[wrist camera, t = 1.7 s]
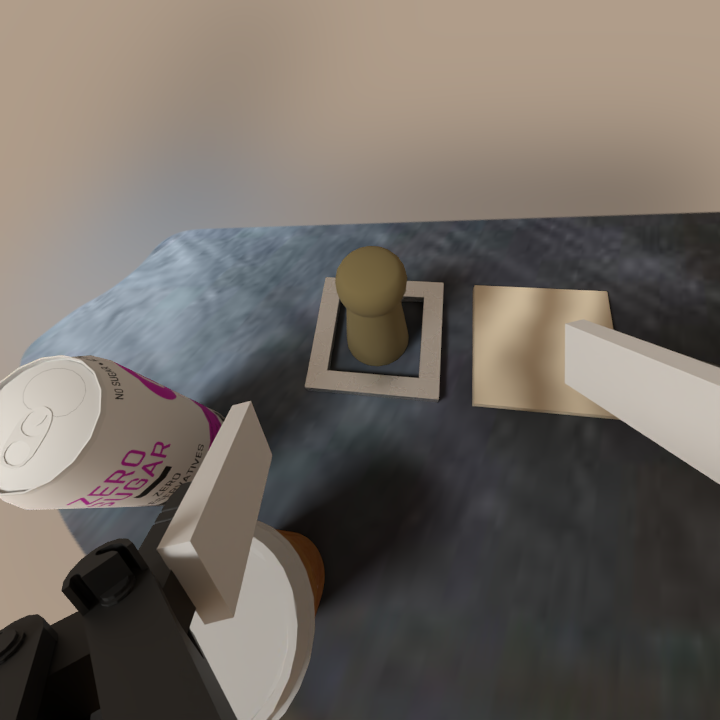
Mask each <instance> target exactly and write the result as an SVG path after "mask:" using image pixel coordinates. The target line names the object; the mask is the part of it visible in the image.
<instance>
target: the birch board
mask: <svg viewBox="0 0 720 720" xmlns="http://www.w3.org/2000/svg"><path fill="white" fill-rule="evenodd" d="M582 319H584V320H587V321H590V322H593V323H595V324H598V325H601V326H604V327H607V328H609V329H612V330H613V324H612V318H611V312H610V306H609V300H608V294H607V291H587V290H565V289H544V288H522V287H500V286H479V285H474V288H473V369H472V406H479V407H490V408H501V409H511V410H522V411H533V412H543V413H554V414H565V415H575V416H586V417H597V418H607V419H618V420H620V419H619V418H617V417H616V416H614V415H613V414H611V413H610V412H608V411H607V410H605V409H604V408H602V407H600V406H599V405H597V404H596V403H594V402H593V401H591V400H590V399H588V398H587V397H585V396H584V395H582V394H581V393H579V392H577V391H576V390H574V389H573V388H571V387H570V386H568V385H567V384H565V324H566V323H570V322H574V321H578V320H582Z"/></svg>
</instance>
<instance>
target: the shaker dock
mask: <svg viewBox="0 0 720 720" xmlns="http://www.w3.org/2000/svg"><path fill="white" fill-rule="evenodd" d="M335 279H336V278H331V277H326V279H325V284H324V289H323V295H322V300H321V305H320V310H319V315H318V321H317V326H316V331H315V336H314V341H313V347H312V352H311V357H310V362H309V367H308V373H307V378H306V383H305V388H306V389H307V390H309V391H320V392H330V393H341V394H352V395H362V396H373V397H383V398H394V399H405V400H415V401H426V402H437V403H438V400H439V383H440V359H441V335H442V311H443V286H444V283H440V282H418V281H407V285H406V292H405V294H404V296H403V298H402V300H401V301H402V302H420V303H423V318H422V333H421V349H420V364H419V378H412V377H400V376H388V375H376V374H365V373H353V372H341V371H330V365H331V359H332V353H333V347H334V341H335V335H336V330H337V324H338V318H339V312H340V306H341V300H340V298H339V297H338V294H337V290H336V284H335Z"/></svg>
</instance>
